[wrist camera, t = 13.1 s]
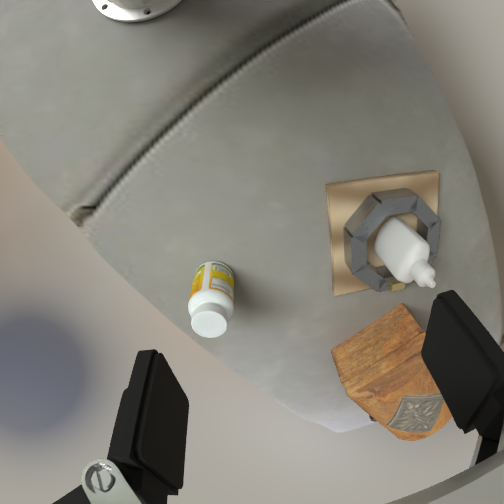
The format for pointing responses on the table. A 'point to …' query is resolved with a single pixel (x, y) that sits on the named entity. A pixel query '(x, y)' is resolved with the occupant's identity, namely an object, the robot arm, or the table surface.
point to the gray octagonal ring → (369, 220)
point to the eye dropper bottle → (404, 253)
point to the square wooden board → (346, 203)
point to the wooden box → (392, 376)
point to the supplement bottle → (211, 299)
